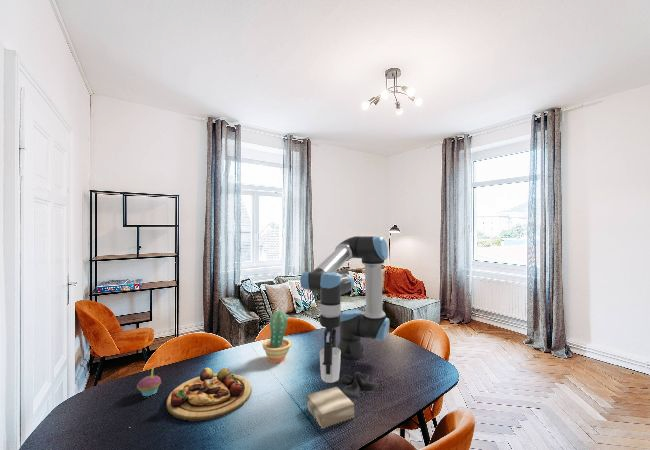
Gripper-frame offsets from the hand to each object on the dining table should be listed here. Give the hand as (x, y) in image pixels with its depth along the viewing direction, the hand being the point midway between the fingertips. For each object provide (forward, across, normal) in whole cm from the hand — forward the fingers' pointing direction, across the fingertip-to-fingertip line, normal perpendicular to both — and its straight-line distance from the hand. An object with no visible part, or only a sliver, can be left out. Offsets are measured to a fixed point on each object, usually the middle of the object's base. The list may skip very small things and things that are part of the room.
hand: (330, 376), depth 107 cm
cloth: (+14, -21, +11) cm, 28 cm away
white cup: (+1, 0, 0) cm, 1 cm away
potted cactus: (+14, -40, -34) cm, 54 cm away
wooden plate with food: (+14, -3, -49) cm, 51 cm away
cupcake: (+14, 0, -75) cm, 76 cm away
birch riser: (+14, 0, 0) cm, 14 cm away
